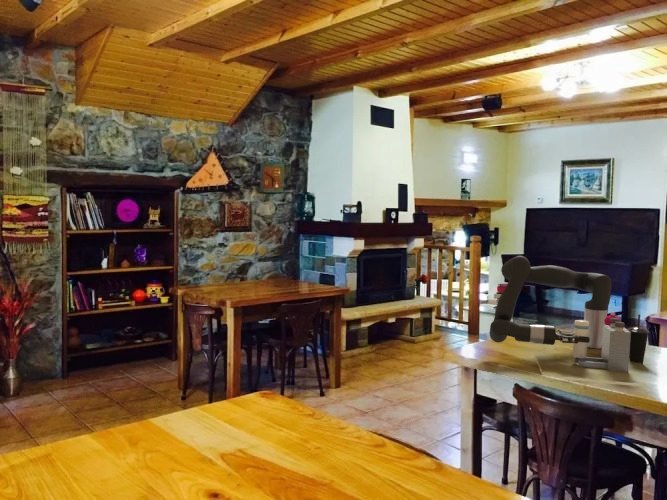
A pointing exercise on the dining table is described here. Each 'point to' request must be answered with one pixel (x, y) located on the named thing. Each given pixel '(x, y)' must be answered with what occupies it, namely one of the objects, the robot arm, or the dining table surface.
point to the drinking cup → (638, 343)
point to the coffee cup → (580, 330)
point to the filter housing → (611, 351)
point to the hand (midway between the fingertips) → (587, 338)
